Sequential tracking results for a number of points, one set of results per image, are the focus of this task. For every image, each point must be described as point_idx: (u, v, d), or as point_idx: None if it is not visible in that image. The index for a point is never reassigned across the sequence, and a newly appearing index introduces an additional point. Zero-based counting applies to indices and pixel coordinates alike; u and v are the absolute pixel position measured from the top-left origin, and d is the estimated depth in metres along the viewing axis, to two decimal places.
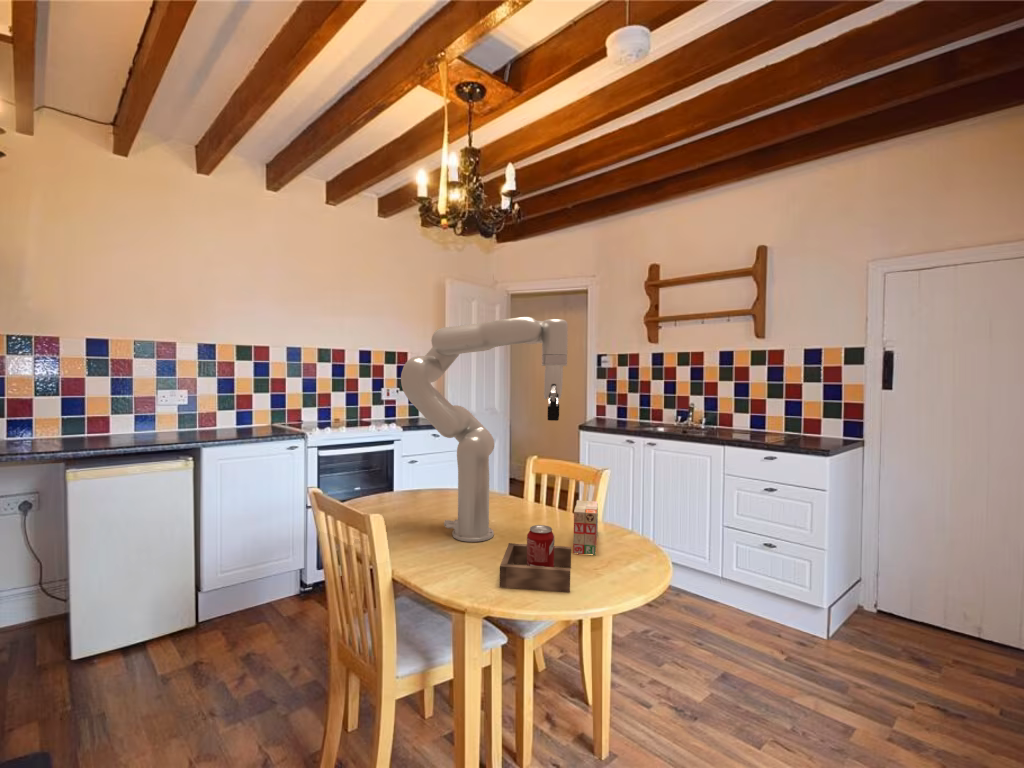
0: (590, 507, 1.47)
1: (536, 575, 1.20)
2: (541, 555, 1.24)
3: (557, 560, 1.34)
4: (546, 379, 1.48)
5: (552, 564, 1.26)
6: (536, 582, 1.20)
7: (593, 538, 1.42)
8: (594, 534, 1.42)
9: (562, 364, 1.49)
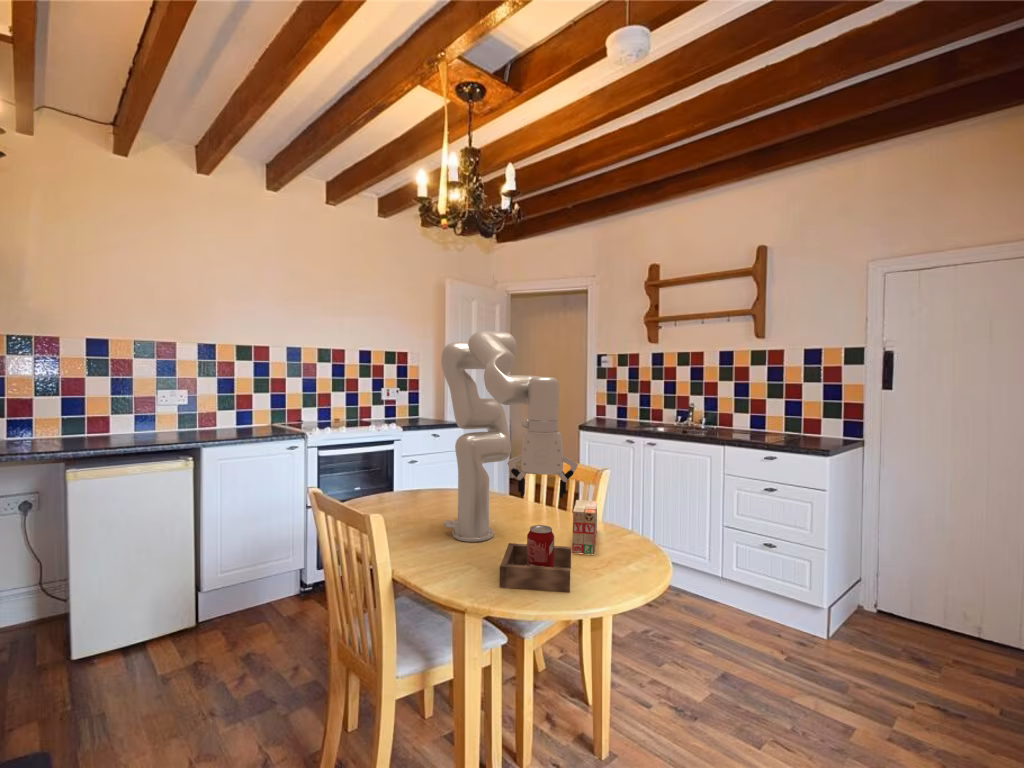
0: (589, 507, 1.47)
1: (536, 575, 1.20)
2: (541, 555, 1.24)
3: (557, 560, 1.34)
4: (561, 450, 1.24)
5: (552, 564, 1.26)
6: (536, 582, 1.20)
7: (592, 538, 1.43)
8: (593, 534, 1.43)
9: None
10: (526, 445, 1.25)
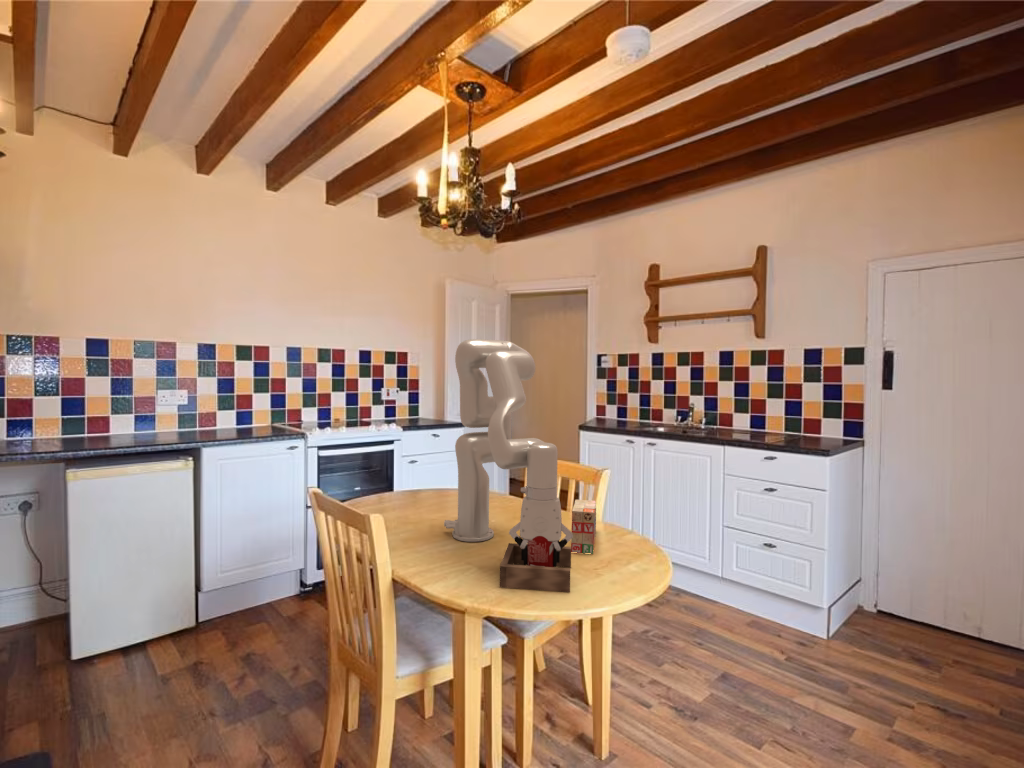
0: (588, 506, 1.47)
1: (536, 575, 1.20)
2: (541, 554, 1.24)
3: None
4: (560, 517, 1.25)
5: (552, 564, 1.26)
6: (536, 582, 1.20)
7: (591, 537, 1.43)
8: (592, 533, 1.43)
9: None
10: (525, 512, 1.25)
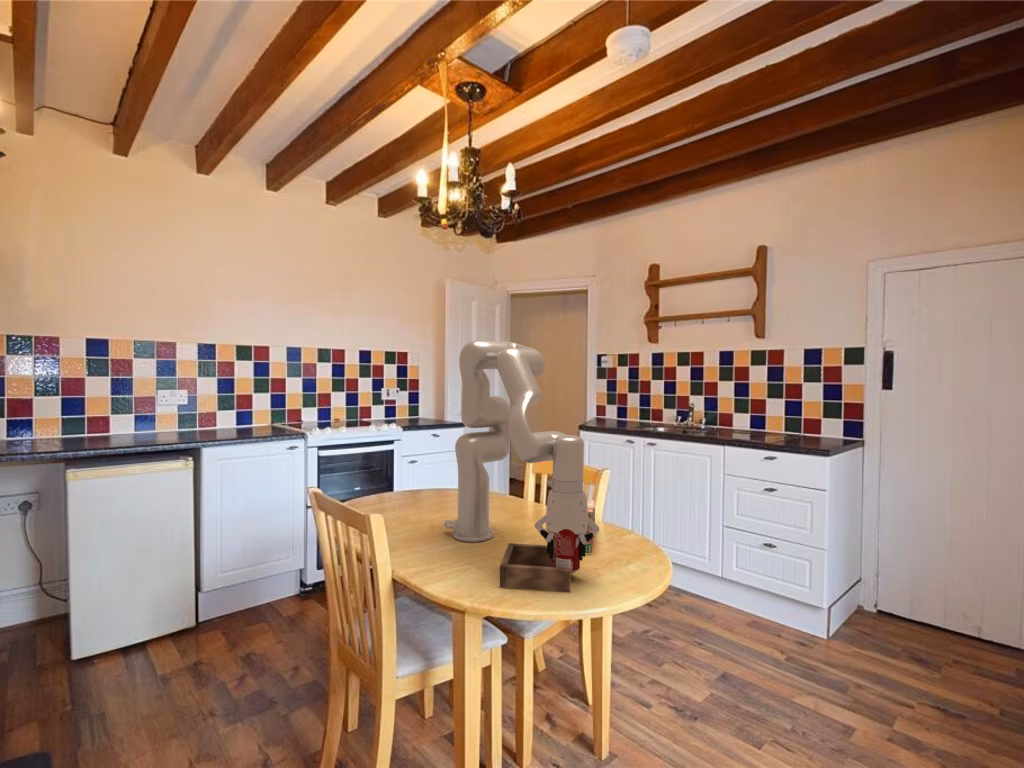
0: None
1: (536, 575, 1.20)
2: (567, 548, 1.24)
3: None
4: (586, 510, 1.24)
5: (578, 557, 1.25)
6: (536, 582, 1.20)
7: None
8: None
9: None
10: (551, 505, 1.24)
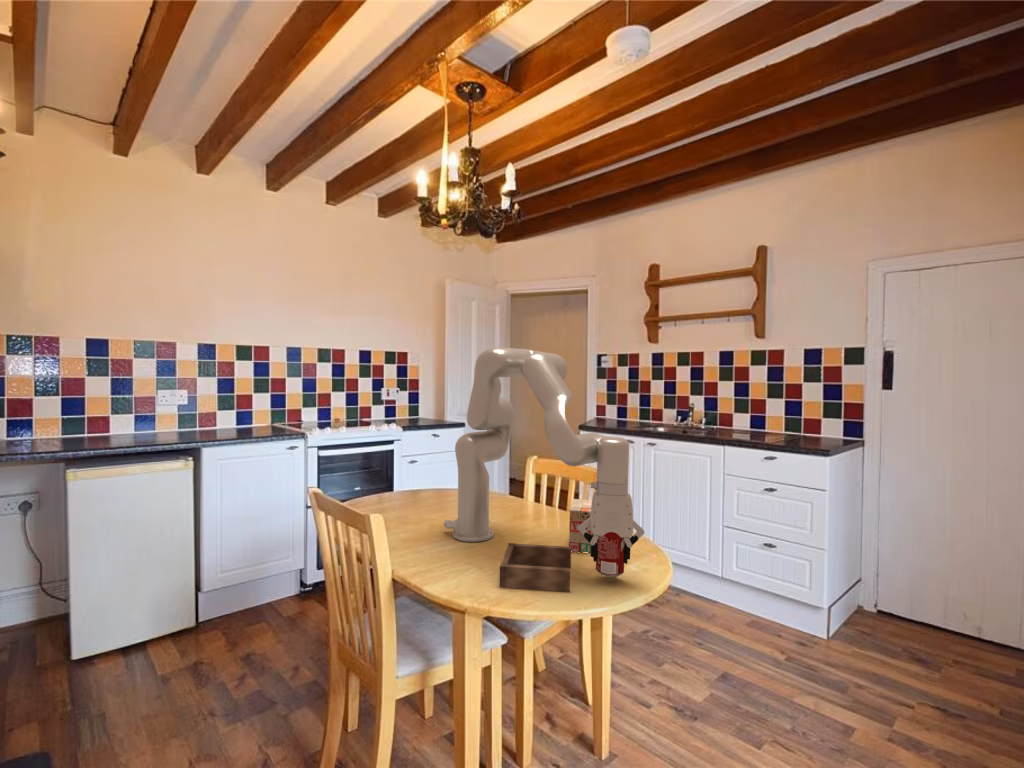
0: (586, 506, 1.48)
1: (536, 575, 1.20)
2: (613, 551, 1.22)
3: (557, 560, 1.34)
4: (632, 513, 1.23)
5: (623, 561, 1.24)
6: (536, 582, 1.20)
7: None
8: (590, 532, 1.44)
9: None
10: (596, 508, 1.23)
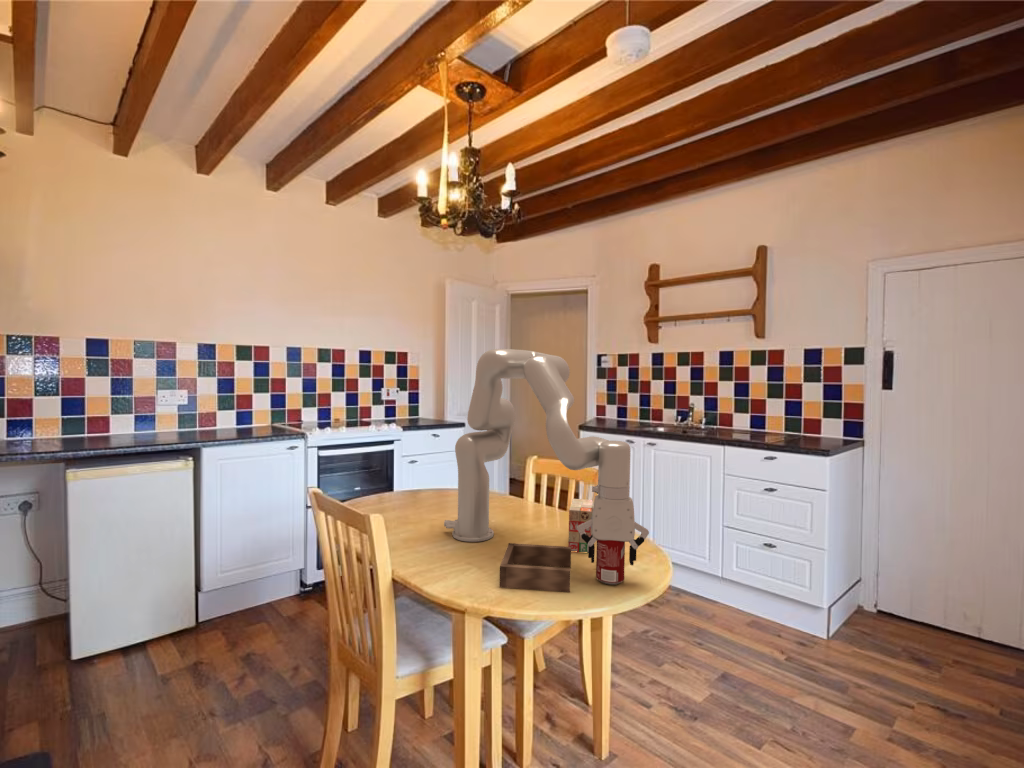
0: (585, 506, 1.48)
1: (536, 575, 1.20)
2: (613, 559, 1.22)
3: (557, 560, 1.34)
4: (633, 517, 1.22)
5: (623, 568, 1.24)
6: (536, 582, 1.20)
7: None
8: (589, 532, 1.44)
9: None
10: (597, 511, 1.23)
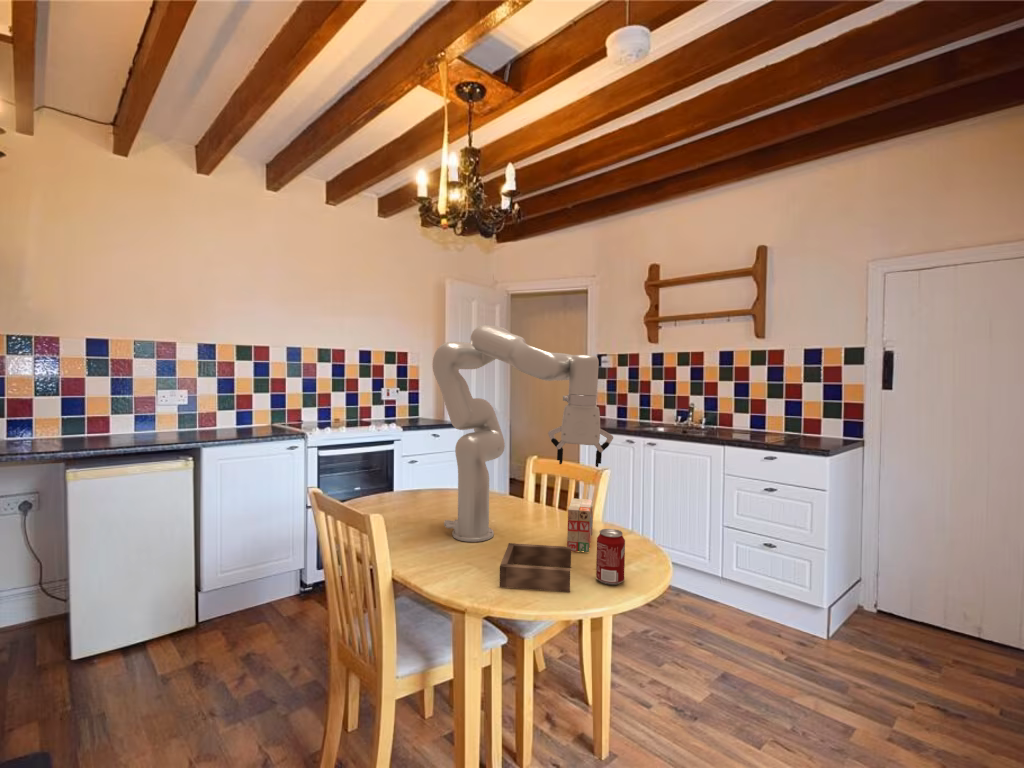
0: (584, 505, 1.49)
1: (536, 575, 1.20)
2: (613, 559, 1.22)
3: (557, 560, 1.34)
4: (599, 423, 1.35)
5: (623, 568, 1.24)
6: (536, 582, 1.20)
7: (587, 535, 1.44)
8: (588, 532, 1.44)
9: None
10: (566, 417, 1.35)
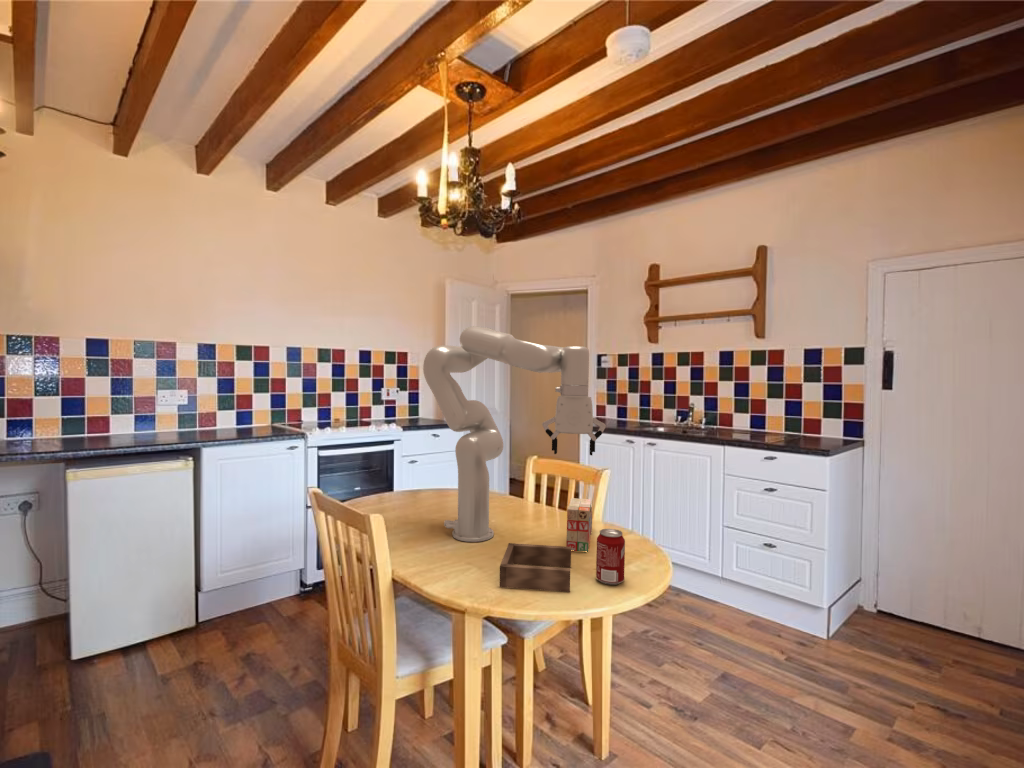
0: (583, 505, 1.49)
1: (536, 575, 1.20)
2: (613, 559, 1.22)
3: (557, 560, 1.34)
4: (591, 412, 1.38)
5: (623, 568, 1.24)
6: (536, 582, 1.20)
7: (586, 535, 1.45)
8: (587, 531, 1.45)
9: None
10: (560, 407, 1.38)
